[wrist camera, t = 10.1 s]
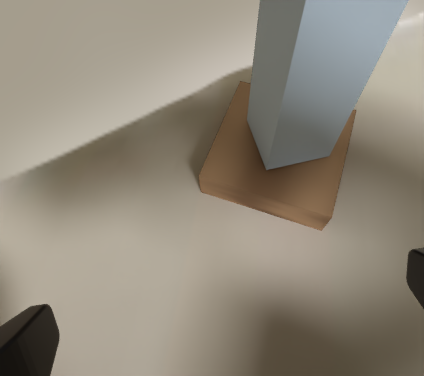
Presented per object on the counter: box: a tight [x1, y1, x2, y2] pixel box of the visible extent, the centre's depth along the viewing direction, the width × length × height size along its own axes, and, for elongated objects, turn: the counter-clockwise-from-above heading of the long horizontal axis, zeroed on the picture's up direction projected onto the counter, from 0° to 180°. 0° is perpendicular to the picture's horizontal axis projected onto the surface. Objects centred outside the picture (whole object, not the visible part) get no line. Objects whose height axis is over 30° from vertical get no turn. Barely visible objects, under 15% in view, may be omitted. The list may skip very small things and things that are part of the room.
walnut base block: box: [199, 81, 356, 231], centre depth 25 cm, size 9×9×3 cm
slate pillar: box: [247, 0, 408, 170], centre depth 18 cm, size 4×4×12 cm
